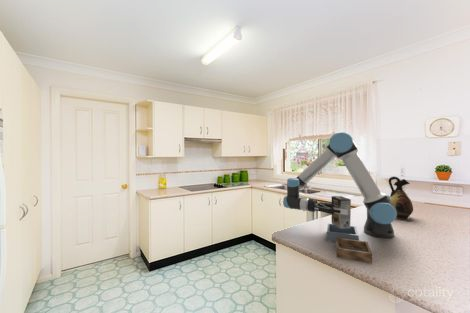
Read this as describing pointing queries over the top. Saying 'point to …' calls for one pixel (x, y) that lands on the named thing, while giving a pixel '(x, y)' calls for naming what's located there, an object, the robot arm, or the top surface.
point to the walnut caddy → (353, 253)
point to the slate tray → (341, 233)
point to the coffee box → (341, 219)
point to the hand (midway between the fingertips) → (348, 210)
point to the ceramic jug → (400, 199)
